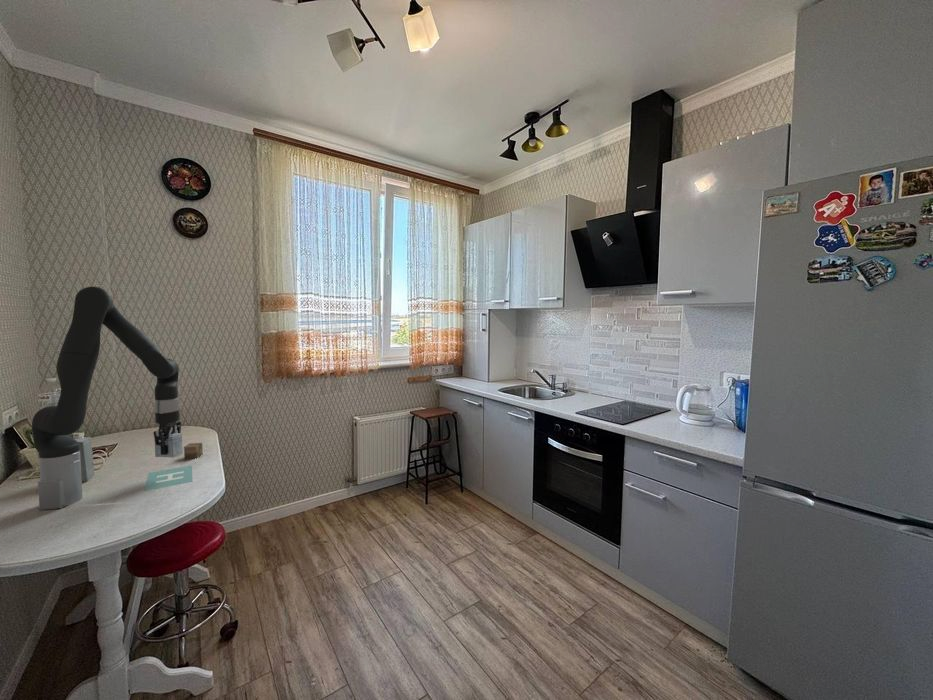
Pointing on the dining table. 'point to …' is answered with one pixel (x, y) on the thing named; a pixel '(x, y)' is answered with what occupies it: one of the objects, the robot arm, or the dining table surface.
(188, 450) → the walnut block
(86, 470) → the skincare box
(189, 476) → the letter card
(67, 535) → the dining table surface
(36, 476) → the dining table surface
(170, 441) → the medicine box
